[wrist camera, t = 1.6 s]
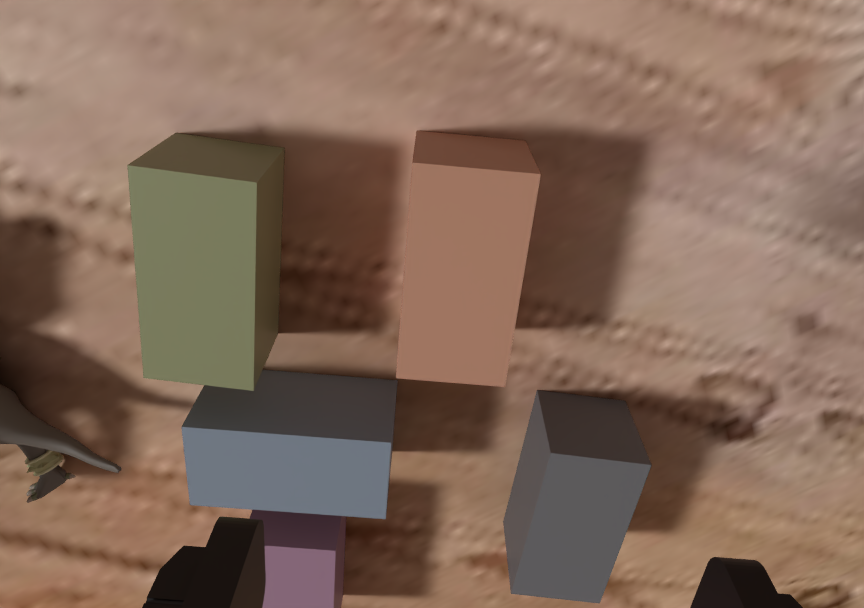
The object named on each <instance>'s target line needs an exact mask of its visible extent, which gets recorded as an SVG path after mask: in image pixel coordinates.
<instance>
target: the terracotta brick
mask: <svg viewBox="0 0 864 608" xmlns="http://www.w3.org/2000/svg"><path fill="white" fill-rule="evenodd" d="M540 177H541V173H540V171H539V169H538V167H537V165H536V163H535V160H534V158H533V156H532V154H531V152H530V150H529V147H528V145H527V143H526V141H524V140H513V139H502V138H492V137H481V136H470V135H459V134H449V133H438V132H427V131H417V132H416V139H415V147H414V154H413V162H412V174H411V188H410V201H409V214H408V227H407V240H406V253H405V266H404V279H403V292H402V305H401V318H400V331H399V344H398V357H397V370H396V378H399V379H412V380H424V381H437V382H449V383H462V384H474V385H487V386H499V387H505V384H506V378H507V372H508V366H509V360H510V354H511V348H512V343H513V337H514V331H515V325H516V319H517V313H518V307H519V301H520V295H521V289H522V283H523V277H524V271H525V265H526V260H527V254H528V248H529V242H530V236H531V230H532V224H533V218H534V212H535V206H536V200H537V194H538V188H539V182H540Z"/></svg>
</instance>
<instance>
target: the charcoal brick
mask: <svg viewBox="0 0 864 608" xmlns="http://www.w3.org/2000/svg"><path fill="white" fill-rule="evenodd" d="M650 468H651V462H650V460H649V458H648V455H647V453H646V450H645V448H644V445H643V443H642V441H641V438H640V436H639V433H638V431H637V428H636V426H635V424H634V421H633V419H632V416H631V414H630V411H629V409H628V406H627V404H626V402H625V401H622V400H614V399H606V398H598V397H590V396H582V395H573V394H565V393H557V392H549V391H541V390H537V392H536V396H535V400H534V404H533V408H532V412H531V416H530V420H529V424H528V427H527V431H526V435H525V439H524V443H523V447H522V451H521V455H520V459H519V463H518V466H517V470H516V474H515V478H514V482H513V486H512V490H511V494H510V498H509V502H508V505H507V509H506V513H505V517H504V521H503V523H504V533H505V542H506V551H507V561H508V570H509V579H510V589H511V594H519V595H528V596H537V597H546V598H555V599H565V600H574V601H583V602H592V603H600V601H601V598H602V596H603V593H604V590H605V588H606V585H607V582H608V580H609V577H610V574H611V572H612V569H613V566H614V564H615V561H616V558H617V556H618V553H619V550H620V548H621V545H622V542H623V540H624V537H625V534H626V532H627V529H628V527H629V524H630V521H631V519H632V516H633V513H634V511H635V508H636V505H637V503H638V500H639V497H640V495H641V492H642V489H643V487H644V484H645V481H646V479H647V476H648V473H649V471H650Z"/></svg>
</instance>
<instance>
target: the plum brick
mask: <svg viewBox="0 0 864 608" xmlns="http://www.w3.org/2000/svg"><path fill="white" fill-rule="evenodd" d="M250 519H258V520H263V524H264V543H265V571H266V585H265V594H264V601H263V607H262V608H341V604H342V598H343V582H344V559H345V536H346V516H336V515H322V514H308V513H294V512H280V511H267V510H252V513H251V516H250Z"/></svg>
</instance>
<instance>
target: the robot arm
mask: <svg viewBox="0 0 864 608" xmlns="http://www.w3.org/2000/svg"><path fill="white" fill-rule="evenodd" d="M265 585H266V571H265V543H264V524H263V520H258V519H246V518H233V517H219V518H218V520H217V521H216V523H215V526H214V528H213V531H212V533H211V535H210V538H209V540H208V543H207V545H206V547H194V546H183V547H182V548H181V549H180V550H179V551H178V552H177V553H176V554H175V555H174V556H173V557H172V558H171V559H170V560H169V561H168V562H167V563H166V564H165V565H164V566H163V567H162V568H161V569H160V571H159V573H158V575H157V577H156V579H155V581H154V583H153V586H152V588H151V590H150V592H149V594H148V596H147V601H146V603H144V605H143V607H142V608H262V607H263V601H264V594H265ZM690 608H803V607H802V606H801V605H800V604H799V603H798V602H797V601H796V600H795V599H794V598H793V597H792V596H791V595H790V594H778V593H777V591H776V589H775V587H774V585H773V583H772V581H771V579H770V578H769V576H768V574H767V572H766V570H765V568H764V567H763V566H762V564H761V563H759V562H758V561H756V560H746V559H733V558H720V557H713V558H711V559H710V561H709V562H708V564H707V567H706V569H705V572H704V574H703V577H702V579H701V582H700V584H699V587H698V589H697V592H696V595H695V597H694V600H693V602H692V605H691V607H690Z"/></svg>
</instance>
